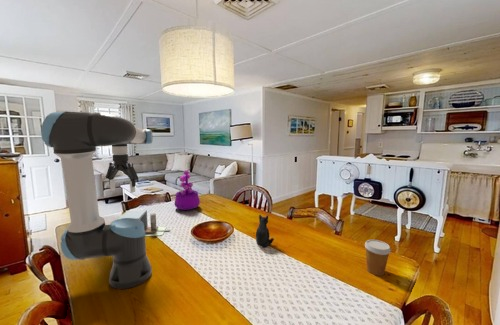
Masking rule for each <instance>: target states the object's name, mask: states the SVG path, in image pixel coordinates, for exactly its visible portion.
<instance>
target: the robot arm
mask: <svg viewBox="0 0 500 325" xmlns="http://www.w3.org/2000/svg"><path fill="white" fill-rule="evenodd" d="M40 134H41V135H40V136H41V139H42V141H43V143H44V145H45V146H47V147H49V148H53V154H54V155H56V156H57V157H59V158H60V161H61V166H62V174H63V178H64V185H65V191H66V192H65V193H66V199H67V200H66V201H67V205H68V211H69V217H70V223H69V224H68V225H67V226H66V229H65V230H64V231H63V233H62V234H61V238H60V239H61V241H60V249H61V250H60V251H61V253H62V254H63V256H64V257H65V258H66V259H68V260H70V261H73V260H75V261H76V260H77V261H78V260H80V261H83V260H86V259H96V258H104V257H112V266H111V269H110V272H109V275H108V276H109V278H108V281H109V286H110V287H112V288H113V289H119V290H125V289H131V288H133V287H136V286H139V285H141V284H143V283H144V282H146V281H147V280H148V279H149V278H150V277H151V275H152V273H153V272H152V265H151V262H150V259H149V258H148V256H147V250H146V248H147V247H146V244H147V243H146V236H145V229H144V224H143V222H142V221H140V220H138V219H135V218H121V219H118V218H117V219H115V220H112V221H111V222H110V224H106V220H105V218H104V217H102V216H100V213H99V211H100V210H99V203H98V202H99V201H98V196H97V188H96V179H95V172H94V162H93V154H95V153H96V151H97V147H108V146H111V153H112V154H113V155H112V162H109V163H108V169H107V173H106V175H105V179H108V183H109V184H108V185H109V188H110V192H113V191H116V179H115V177H116V175H117V174H118V173H119V171H120V172H124V173H125V174H126V176H127V177H128V179H129V187H130V188H129V191H130V194H133V193H136V185H137V184H136V181H138V180H139V175H138V174H137V171H136V169H135V167H134V164H133V162H128V161H129V154H128V153H129V151H128V150H129V149H128V148H129V147H128V145H135V144H136V145H142V144H143V145H149V144H152V143H153V137H154V136H153V135H154V134H153V132H152V129H142V128H139V127H137V126H135V125H134V124H133V122H131V121H130V120H128V119H125V118H123V117H121V116H118V115H115V114H111V113H105V112H92V111H91V112H88V111H86V112H85V111H84V112H83V111H66V110H65V111H53V112H50V113H48V114H47V115H46V116H45V117H44V119H43V122H42V124H41V130H40Z"/></svg>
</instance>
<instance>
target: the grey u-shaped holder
mask: <svg viewBox="0 0 500 325" xmlns="http://www.w3.org/2000/svg"><path fill="white" fill-rule="evenodd" d="M149 216H150V219H149V221H150V226H148V227H144V229H145V234H147V233H155V232H156V230H157V229H158V228H159V226H157V214H156V213H155V212H154V213H153V212H152V213H150V214H149ZM140 221H141V219H140Z"/></svg>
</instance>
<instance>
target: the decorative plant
mask: <svg viewBox="0 0 500 325" xmlns="http://www.w3.org/2000/svg"><path fill="white" fill-rule="evenodd" d="M190 178H191V175H190V171H189V170H187V169H186V170H183V175H181V176H179V181H180V182H181V183H180V186H181V187H182V188H183V190H180V191H177V192H176V193H175V200H174V207H175V208H176V209H179V210H184V211H188V210H192V209H193V210H194V209H195V208H197V207H199V206H200V203H201V201H200V197H199V193H198V191H196V190H194V189H193V188H192V187H193V186H194V184H193V182H189V179H190Z"/></svg>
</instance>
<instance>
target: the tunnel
mask: <svg viewBox="0 0 500 325" xmlns="http://www.w3.org/2000/svg"><path fill="white" fill-rule="evenodd" d="M121 218H135V219H138V220H140V219H141V221H142V222H143V224H144V227H149V226H148V209H138V210H135V209H132V210H127V211H125V212H124V213H123V214H122V215H121V216H119V217H118V218H117V219H121ZM170 231H171V229H166V230H156V232H164V233H167V232H168V233H169V232H170Z"/></svg>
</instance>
